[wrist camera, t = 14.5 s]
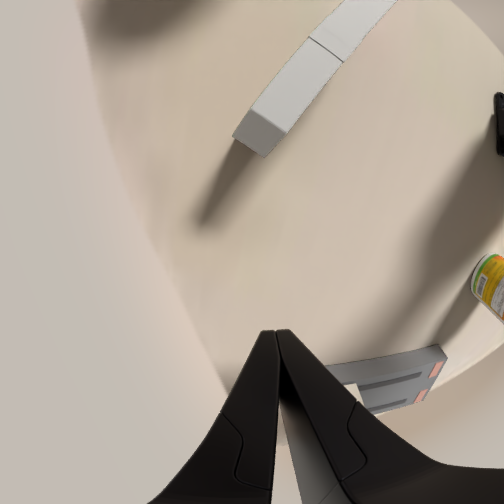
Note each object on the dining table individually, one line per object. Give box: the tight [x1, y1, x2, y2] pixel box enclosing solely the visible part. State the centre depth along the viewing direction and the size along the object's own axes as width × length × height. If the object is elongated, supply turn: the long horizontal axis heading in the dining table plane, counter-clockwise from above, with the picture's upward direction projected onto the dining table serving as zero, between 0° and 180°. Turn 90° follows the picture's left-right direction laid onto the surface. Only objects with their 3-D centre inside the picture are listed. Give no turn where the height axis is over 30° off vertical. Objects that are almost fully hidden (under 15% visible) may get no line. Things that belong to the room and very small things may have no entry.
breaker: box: [344, 383, 365, 407], centre depth 21 cm, size 2×3×4 cm
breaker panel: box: [325, 344, 448, 415], centre depth 26 cm, size 17×8×3 cm, turn 92°
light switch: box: [232, 0, 397, 158], centre depth 11 cm, size 2×12×8 cm, turn 145°
